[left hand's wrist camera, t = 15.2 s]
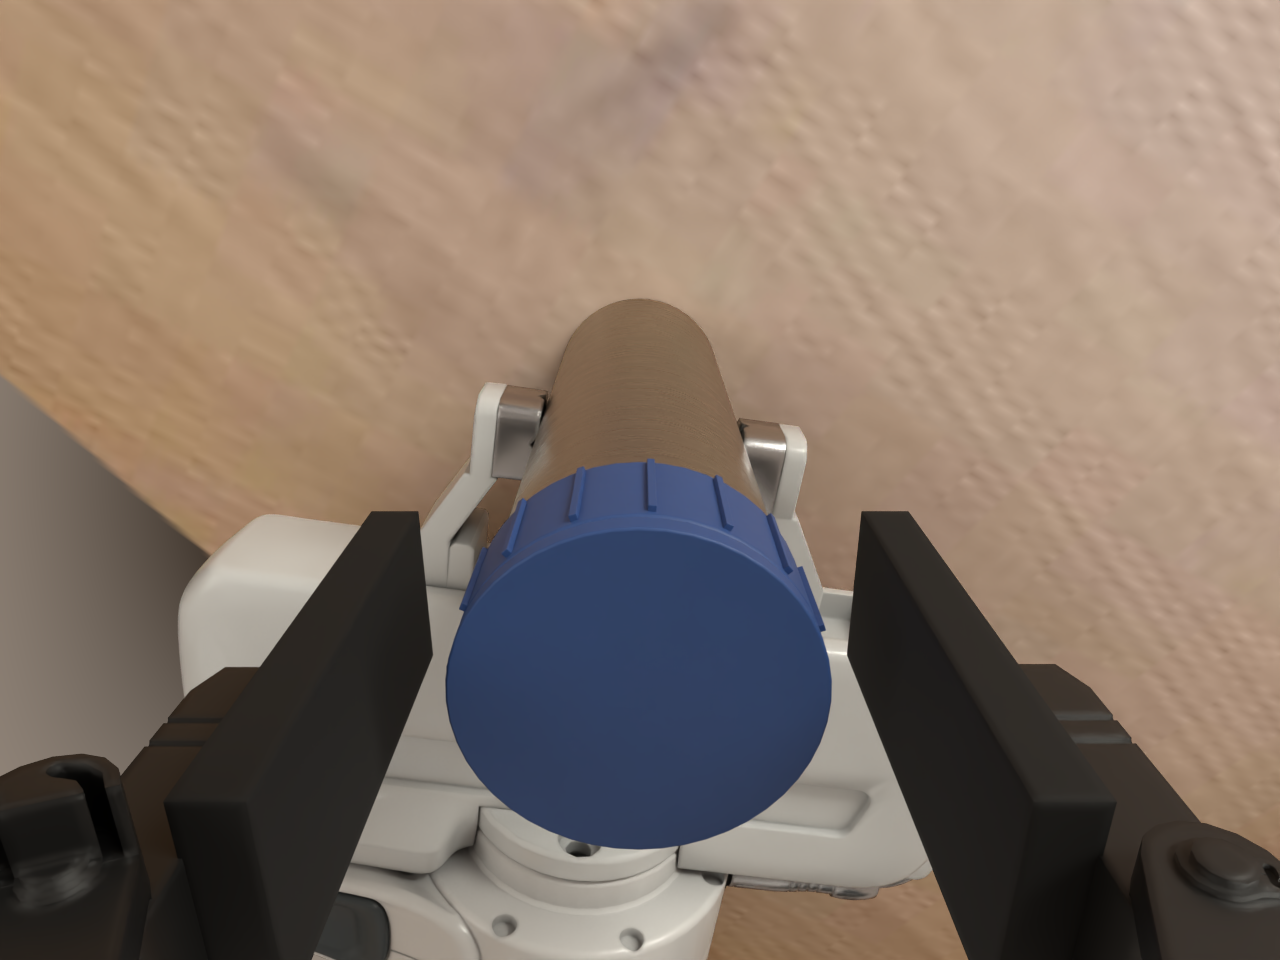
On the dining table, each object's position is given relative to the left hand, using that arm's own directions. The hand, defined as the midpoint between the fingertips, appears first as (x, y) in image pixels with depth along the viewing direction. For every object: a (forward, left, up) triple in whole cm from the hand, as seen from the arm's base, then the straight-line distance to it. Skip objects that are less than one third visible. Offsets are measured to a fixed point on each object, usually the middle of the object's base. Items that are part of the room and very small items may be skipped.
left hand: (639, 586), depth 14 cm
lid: (0, 0, +3) cm, 3 cm away
